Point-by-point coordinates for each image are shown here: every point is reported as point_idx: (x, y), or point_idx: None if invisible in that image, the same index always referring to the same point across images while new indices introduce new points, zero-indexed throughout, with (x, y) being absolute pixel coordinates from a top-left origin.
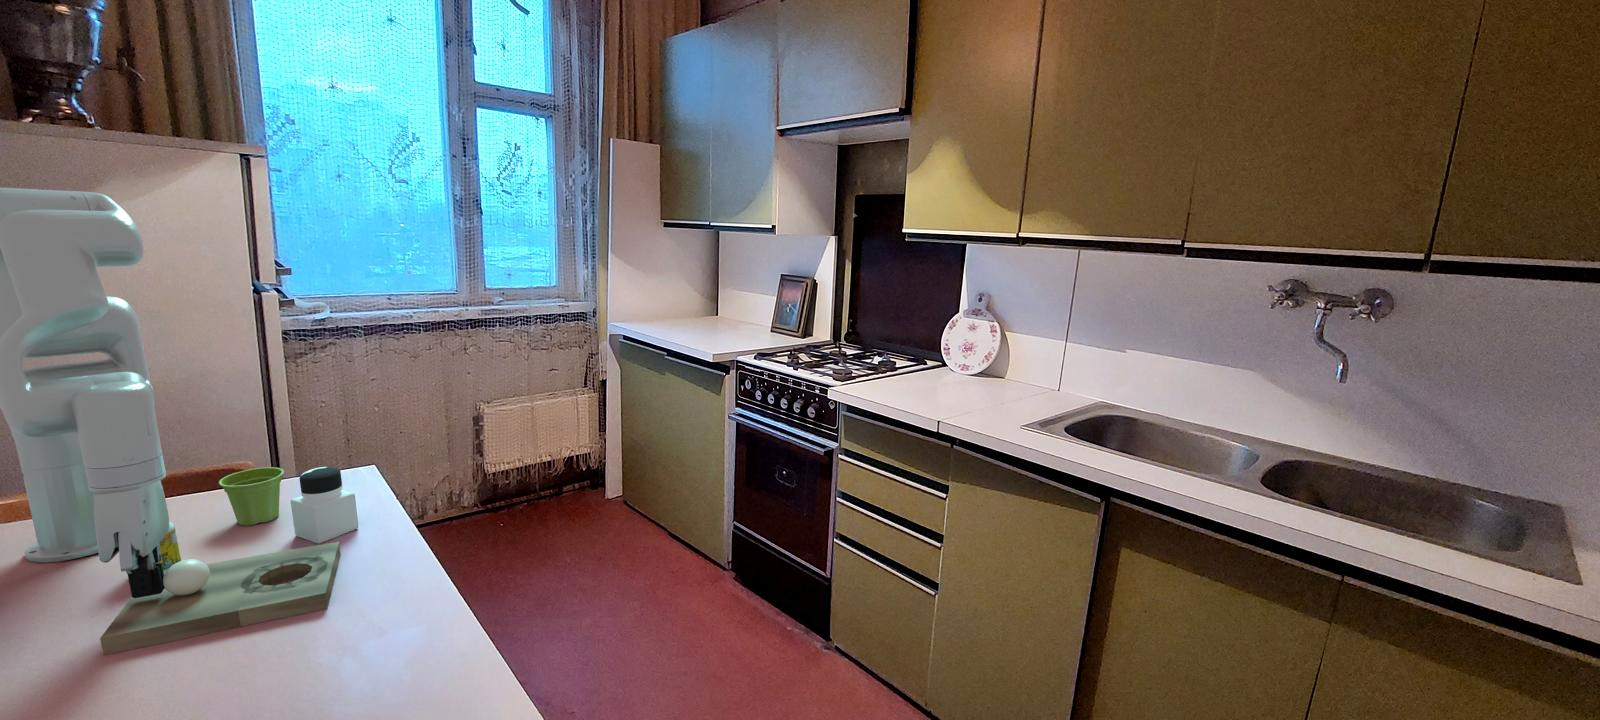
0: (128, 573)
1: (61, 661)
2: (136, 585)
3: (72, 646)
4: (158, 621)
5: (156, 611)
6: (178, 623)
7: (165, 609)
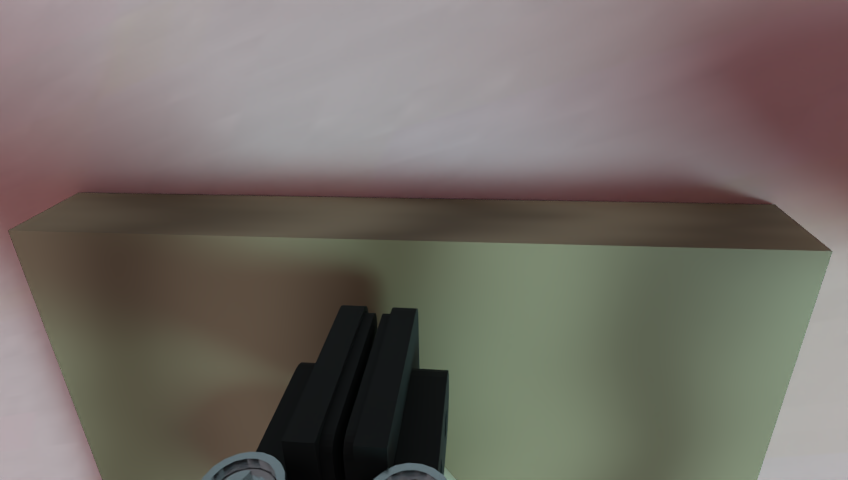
0: (226, 467)
1: (61, 30)
2: (287, 399)
3: (200, 22)
4: (123, 408)
5: (227, 385)
6: (98, 465)
7: (236, 413)
